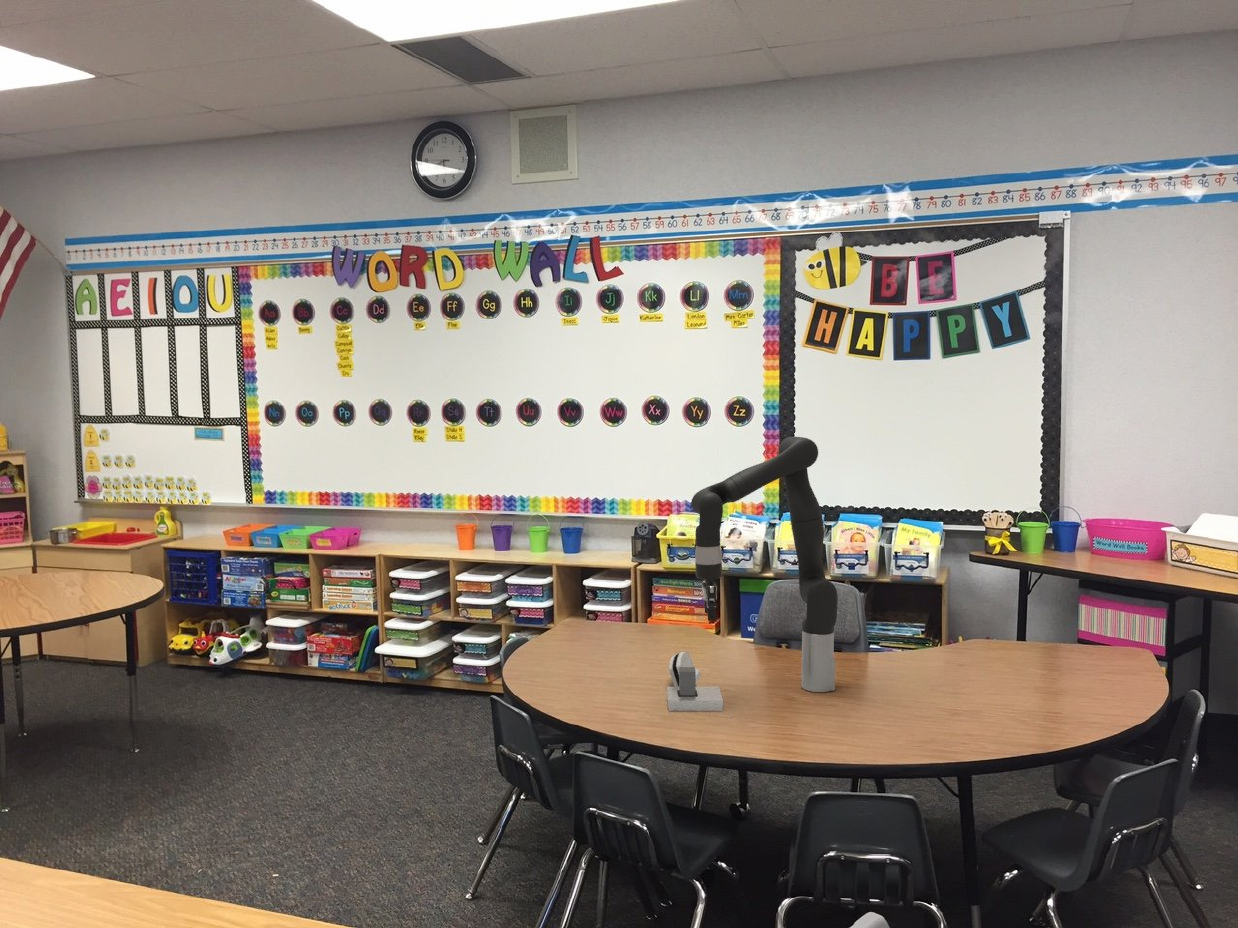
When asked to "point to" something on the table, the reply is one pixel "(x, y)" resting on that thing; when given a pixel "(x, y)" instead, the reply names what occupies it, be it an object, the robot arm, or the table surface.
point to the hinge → (681, 661)
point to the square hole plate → (695, 700)
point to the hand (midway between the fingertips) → (710, 616)
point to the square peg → (687, 682)
